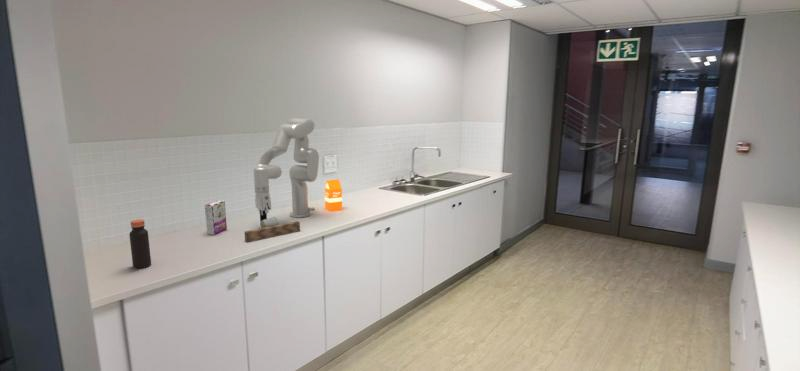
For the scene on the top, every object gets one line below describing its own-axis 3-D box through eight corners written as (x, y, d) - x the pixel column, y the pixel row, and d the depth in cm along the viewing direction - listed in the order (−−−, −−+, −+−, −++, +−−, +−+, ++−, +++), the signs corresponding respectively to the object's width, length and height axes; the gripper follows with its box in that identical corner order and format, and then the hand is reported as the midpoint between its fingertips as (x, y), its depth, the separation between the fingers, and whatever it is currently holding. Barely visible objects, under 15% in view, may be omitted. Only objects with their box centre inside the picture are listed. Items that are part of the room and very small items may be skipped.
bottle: (142, 262, 189) (138, 218, 186) (155, 264, 188) (150, 219, 184) (129, 267, 183) (124, 222, 179) (141, 269, 181) (136, 223, 177)
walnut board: (297, 229, 240) (297, 221, 239) (300, 230, 238) (299, 222, 237) (245, 241, 220) (244, 231, 219) (247, 242, 218) (246, 232, 217)
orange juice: (342, 210, 285) (341, 180, 281) (330, 211, 280) (329, 181, 276) (336, 207, 291) (336, 178, 287) (324, 209, 286) (324, 179, 282)
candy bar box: (219, 228, 240) (217, 200, 237) (227, 229, 239) (225, 200, 236) (206, 234, 229) (204, 204, 226) (214, 235, 228) (212, 205, 225)
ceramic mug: (259, 231, 236) (259, 217, 235) (274, 228, 241) (273, 215, 239) (266, 236, 228) (266, 222, 226) (281, 233, 233) (281, 220, 231)
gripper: (274, 190, 234) (276, 223, 238) (262, 186, 245) (263, 217, 249) (261, 192, 229) (263, 225, 233) (249, 188, 240) (251, 220, 243)
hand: (263, 221), depth 241 cm, fingers closed
